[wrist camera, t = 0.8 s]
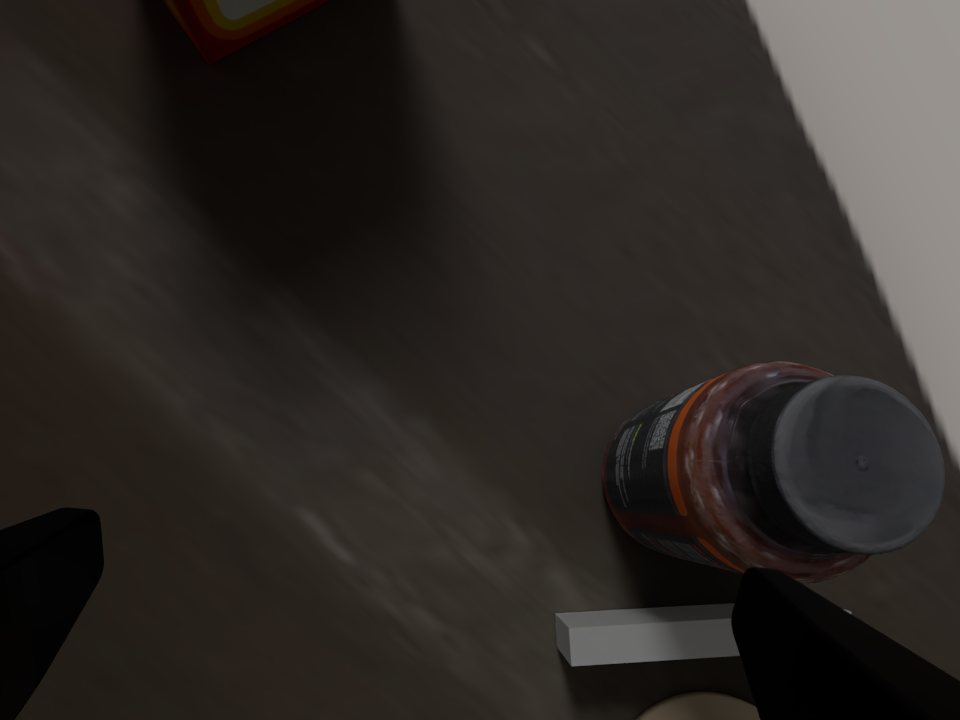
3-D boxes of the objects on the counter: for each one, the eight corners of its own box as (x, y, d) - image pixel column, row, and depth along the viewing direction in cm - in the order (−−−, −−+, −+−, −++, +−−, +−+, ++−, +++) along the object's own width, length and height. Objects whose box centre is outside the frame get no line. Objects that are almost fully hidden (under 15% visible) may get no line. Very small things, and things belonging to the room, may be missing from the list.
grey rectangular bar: (808, 598, 24) (851, 611, 21) (813, 631, 23) (856, 648, 21) (555, 613, 23) (568, 627, 21) (557, 647, 23) (571, 666, 20)
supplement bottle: (756, 545, 24) (1027, 591, 13) (609, 564, 24) (762, 629, 12) (727, 396, 25) (953, 323, 14) (587, 410, 25) (708, 346, 14)
